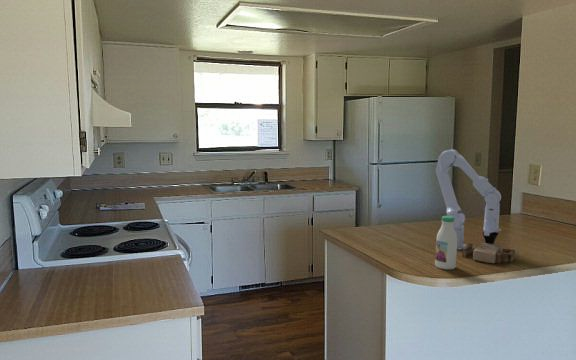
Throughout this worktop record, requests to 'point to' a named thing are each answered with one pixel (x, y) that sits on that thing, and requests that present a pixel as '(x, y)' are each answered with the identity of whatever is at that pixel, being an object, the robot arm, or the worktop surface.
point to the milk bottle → (446, 244)
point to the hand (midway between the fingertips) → (489, 248)
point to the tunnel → (503, 256)
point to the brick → (486, 252)
